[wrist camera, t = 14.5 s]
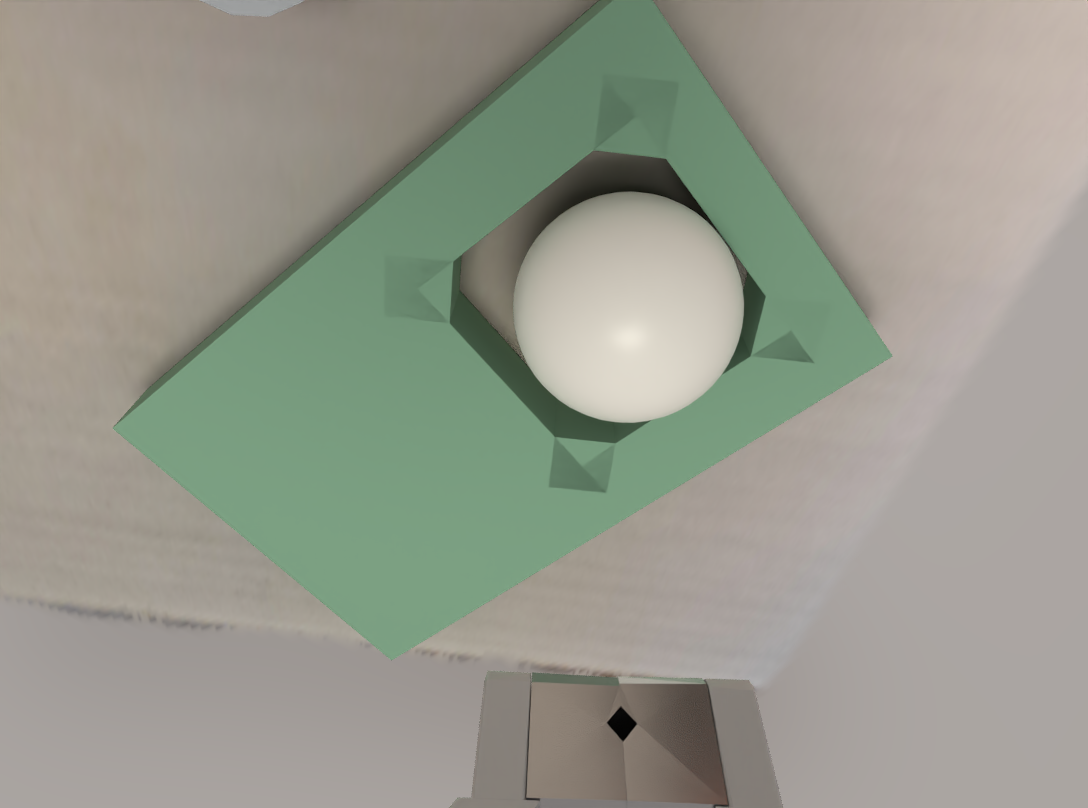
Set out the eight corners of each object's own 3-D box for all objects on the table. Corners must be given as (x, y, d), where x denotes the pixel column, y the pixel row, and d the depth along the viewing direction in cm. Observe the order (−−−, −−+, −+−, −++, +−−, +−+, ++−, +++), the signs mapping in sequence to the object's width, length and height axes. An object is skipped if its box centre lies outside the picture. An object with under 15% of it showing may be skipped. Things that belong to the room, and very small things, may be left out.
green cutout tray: (403, 611, 54) (391, 660, 50) (146, 389, 46) (112, 428, 43) (866, 320, 43) (892, 356, 40) (631, -28, 36) (638, -21, 32)
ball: (813, 212, 34) (696, 211, 43) (576, 166, 31) (505, 176, 40) (763, 457, 36) (661, 405, 45) (534, 438, 32) (475, 387, 42)
